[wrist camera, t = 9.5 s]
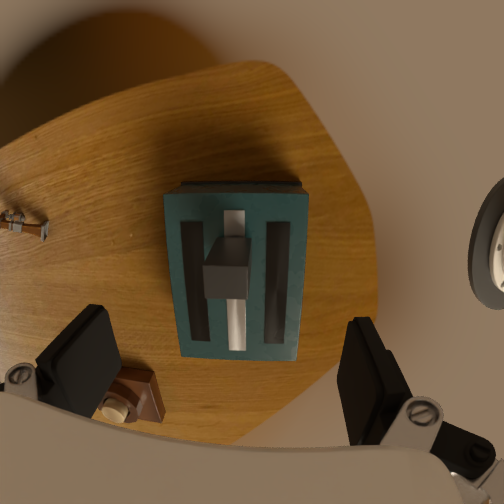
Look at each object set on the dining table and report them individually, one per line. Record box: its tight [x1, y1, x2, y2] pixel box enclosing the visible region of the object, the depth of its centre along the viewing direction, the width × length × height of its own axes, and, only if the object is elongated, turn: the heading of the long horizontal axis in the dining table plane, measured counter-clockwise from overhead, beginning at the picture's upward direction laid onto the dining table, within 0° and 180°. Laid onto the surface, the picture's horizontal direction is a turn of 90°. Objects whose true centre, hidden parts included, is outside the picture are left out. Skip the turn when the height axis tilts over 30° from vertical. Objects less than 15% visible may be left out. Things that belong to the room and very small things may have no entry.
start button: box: [102, 398, 128, 423], centre depth 30 cm, size 3×3×2 cm
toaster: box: [163, 181, 309, 361], centre depth 25 cm, size 10×14×6 cm
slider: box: [202, 237, 252, 300], centre depth 18 cm, size 2×2×5 cm
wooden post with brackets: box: [0, 210, 49, 242], centre depth 26 cm, size 2×8×4 cm, turn 71°
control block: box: [98, 367, 165, 423], centre depth 33 cm, size 10×8×4 cm
